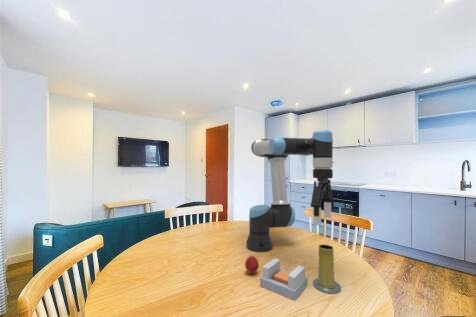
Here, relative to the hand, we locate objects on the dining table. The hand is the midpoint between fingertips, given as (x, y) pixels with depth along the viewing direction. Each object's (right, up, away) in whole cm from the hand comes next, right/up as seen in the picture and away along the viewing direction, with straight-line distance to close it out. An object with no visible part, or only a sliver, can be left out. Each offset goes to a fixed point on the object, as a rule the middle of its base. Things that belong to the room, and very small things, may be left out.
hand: (322, 220), depth 84 cm
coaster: (0, -24, -4) cm, 24 cm away
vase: (0, -23, -4) cm, 24 cm away
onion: (-28, -24, +5) cm, 38 cm away
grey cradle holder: (-17, -24, -4) cm, 29 cm away
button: (-17, -23, -4) cm, 29 cm away
